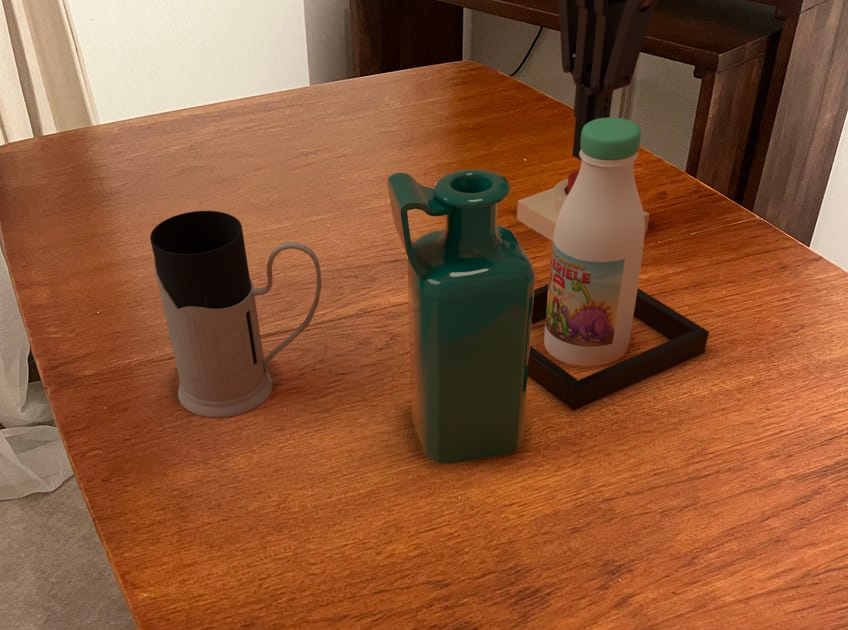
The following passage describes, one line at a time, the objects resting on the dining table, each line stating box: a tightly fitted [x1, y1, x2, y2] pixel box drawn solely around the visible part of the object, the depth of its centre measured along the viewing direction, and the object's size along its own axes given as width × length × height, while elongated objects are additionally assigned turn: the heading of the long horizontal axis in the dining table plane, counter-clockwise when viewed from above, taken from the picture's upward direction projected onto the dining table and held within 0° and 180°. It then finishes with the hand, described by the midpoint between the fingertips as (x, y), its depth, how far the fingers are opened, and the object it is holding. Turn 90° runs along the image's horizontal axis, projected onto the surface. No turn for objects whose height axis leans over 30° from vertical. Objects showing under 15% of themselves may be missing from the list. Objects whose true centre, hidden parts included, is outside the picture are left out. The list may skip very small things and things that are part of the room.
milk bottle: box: [543, 117, 646, 367], centre depth 87 cm, size 8×8×20 cm
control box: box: [516, 178, 650, 242], centre depth 109 cm, size 11×9×4 cm
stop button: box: [567, 169, 580, 195], centre depth 107 cm, size 4×4×2 cm
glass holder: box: [149, 210, 322, 418], centre depth 88 cm, size 9×14×15 cm, turn 88°
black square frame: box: [528, 283, 710, 411], centre depth 93 cm, size 15×15×3 cm
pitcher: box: [387, 168, 536, 464], centre depth 78 cm, size 10×8×22 cm
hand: (587, 154), depth 104 cm, fingers closed
